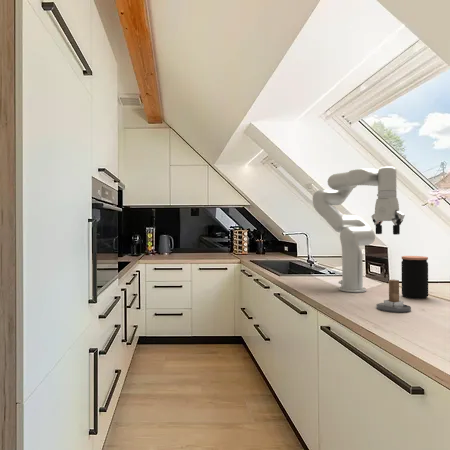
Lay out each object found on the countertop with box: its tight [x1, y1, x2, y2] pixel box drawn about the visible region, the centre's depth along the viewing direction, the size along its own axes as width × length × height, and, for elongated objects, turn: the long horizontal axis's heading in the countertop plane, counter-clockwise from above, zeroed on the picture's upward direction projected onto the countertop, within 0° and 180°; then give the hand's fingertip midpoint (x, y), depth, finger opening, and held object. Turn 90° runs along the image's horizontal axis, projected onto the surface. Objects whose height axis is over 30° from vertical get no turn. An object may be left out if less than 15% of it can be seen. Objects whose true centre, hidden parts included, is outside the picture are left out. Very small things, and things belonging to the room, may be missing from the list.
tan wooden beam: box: [388, 279, 400, 302], centre depth 140 cm, size 2×2×10 cm
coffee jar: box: [401, 255, 429, 300], centre depth 164 cm, size 11×11×18 cm
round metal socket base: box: [376, 299, 412, 314], centre depth 140 cm, size 12×12×3 cm
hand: (387, 234), depth 160 cm, fingers open, 9 cm apart
